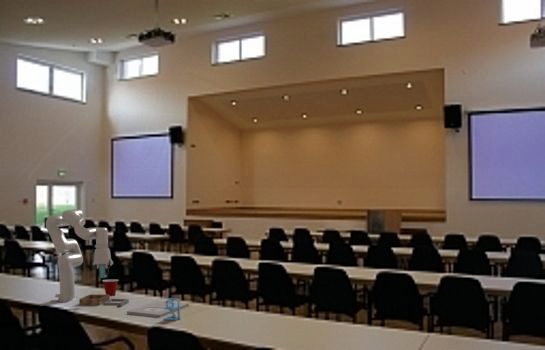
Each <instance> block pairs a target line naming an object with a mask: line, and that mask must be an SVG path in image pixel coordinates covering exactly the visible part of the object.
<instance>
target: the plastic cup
mask: <svg viewBox="0 0 545 350" xmlns="http://www.w3.org/2000/svg"><path fill="white" fill-rule="evenodd" d="M118 282H119V279H114V278H113V279H103V280H102V283H103V287H104V292H105V295H110V297H115V296H116V292H117V287H118Z"/></svg>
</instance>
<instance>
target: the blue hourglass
mask: <svg viewBox="0 0 545 350" xmlns="http://www.w3.org/2000/svg"><path fill="white" fill-rule="evenodd" d="M164 301H165V302H166V305H167V306H166V307H165V309H168V310H170V311H171V313H170V314H172V315H170V316H167V317H164V318H163V320H164V321H178V320H181V309H180V308H181V306H179V303H181V301H180V299H178V298H176V297H169V298H167V299H166V300H164ZM168 302H170V303H172V306H169V307H168V304H167V303H168ZM174 302H178V306H175V305H174ZM175 309H177V311H176V312H177V316H176V313H175V312H173V310H175Z"/></svg>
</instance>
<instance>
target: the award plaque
mask: <svg viewBox="0 0 545 350" xmlns="http://www.w3.org/2000/svg"><path fill="white" fill-rule="evenodd" d="M165 301H166V300H155V301H152V302H150V303H147V304H144V305H141V306H137V307H136V308H132V309H130V310H127V311H126V314H127V315H131V316H132V315H134V316H140V317H141V316H143V317H150V318H151V317H152V318H153V317H154V318H159V319H160V318H162V317H165V316H168V315H170V314H172V313H171V311H170V310H168V309H165V307H166V306H167V305H166V302H165ZM173 302H174V305H175V306H178V303H179V302H178V301H173ZM167 304H168V307H169V306H172V303H170V302H168V303H167ZM179 306H181V308H180V310H183V309H185V308H188V307H189V306H190V303H188V302H187V303H186V302H180V303H179ZM173 312H174V313H175V312H178V311H177V309H175V310H173Z"/></svg>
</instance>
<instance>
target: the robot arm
mask: <svg viewBox="0 0 545 350" xmlns="http://www.w3.org/2000/svg"><path fill="white" fill-rule="evenodd" d="M85 224H86V220H85V218H84V213H83V211H82V210H81V209H78V208H77V209H67V210H65V211H63V212H62V213H61V214H52V215H50V216H49V217H47V218H46V221H45V227H46V230H47V232H48V234H49V236H50V238H51V242H52V244H53V246H54V250H55V251H56V253H57V254H61V255H60V256H59V257H58V259H57V267H58V272H59V276H58V277H59V293H55V296H54V297H55V298H57V302H60V303H68V302H71V301H73V300H76V299H77V298H78V297H77V296H76V293H75V292H76V291H75V289H76V288H75V287H76V285H75V272H74V270H73V268H75V267H79V266H81V265H83V262H84V256H83V254H82V251H81V248H80V246H79V243H78V241H77V239H74V238H66V237H65V236H66V235H65V233H64V232H63V231H62V230H61V229H60V227H66V226H71V227H72V228H74V233H75V234H76V236H78V237H79V238H81V239H82V240H86V241H89V240H90V241H91V240H95V242H96V244H94V248H96V249H94V255H93V262H92V265H93V266H94V267H95V268H96V269H97V275H98V276H100V269H99V264H105V266H106V269H105V274H106V275H107V276H108V275H109V274H110V267H111V266H112V265H114V262H113V260H112V258H111V257H112V255H111V249H110V248H109V230H108V228H107V227H88V228H86V227H84V225H85Z"/></svg>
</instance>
